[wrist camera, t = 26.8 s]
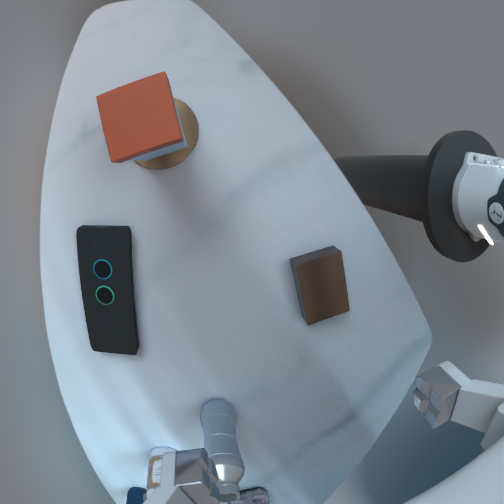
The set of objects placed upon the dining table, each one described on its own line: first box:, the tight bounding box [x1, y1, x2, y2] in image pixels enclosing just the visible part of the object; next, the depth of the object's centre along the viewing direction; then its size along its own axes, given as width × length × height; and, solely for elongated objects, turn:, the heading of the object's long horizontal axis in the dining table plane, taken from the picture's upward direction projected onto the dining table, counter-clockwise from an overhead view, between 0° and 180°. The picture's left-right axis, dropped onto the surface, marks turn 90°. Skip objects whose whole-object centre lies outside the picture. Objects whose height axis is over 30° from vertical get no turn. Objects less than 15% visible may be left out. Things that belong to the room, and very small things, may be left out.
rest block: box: [290, 246, 349, 325], centre depth 44 cm, size 7×10×3 cm
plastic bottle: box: [200, 399, 245, 502], centre depth 40 cm, size 6×7×20 cm
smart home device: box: [77, 225, 139, 355], centre depth 40 cm, size 8×2×20 cm
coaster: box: [135, 98, 198, 169], centre depth 36 cm, size 10×10×1 cm
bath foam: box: [146, 447, 176, 498], centre depth 43 cm, size 7×7×20 cm
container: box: [96, 72, 188, 163], centre depth 29 cm, size 7×14×7 cm
